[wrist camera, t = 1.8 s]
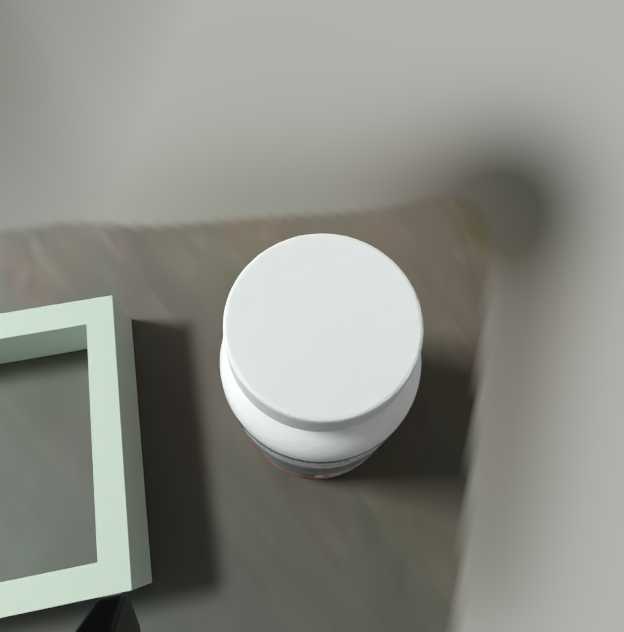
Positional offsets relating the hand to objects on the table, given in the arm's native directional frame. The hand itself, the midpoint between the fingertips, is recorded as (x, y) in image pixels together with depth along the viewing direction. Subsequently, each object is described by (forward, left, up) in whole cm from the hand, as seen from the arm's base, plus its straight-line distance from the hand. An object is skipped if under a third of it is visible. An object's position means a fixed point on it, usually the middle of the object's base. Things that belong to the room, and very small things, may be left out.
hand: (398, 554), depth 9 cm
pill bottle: (+5, 0, -12) cm, 13 cm away
